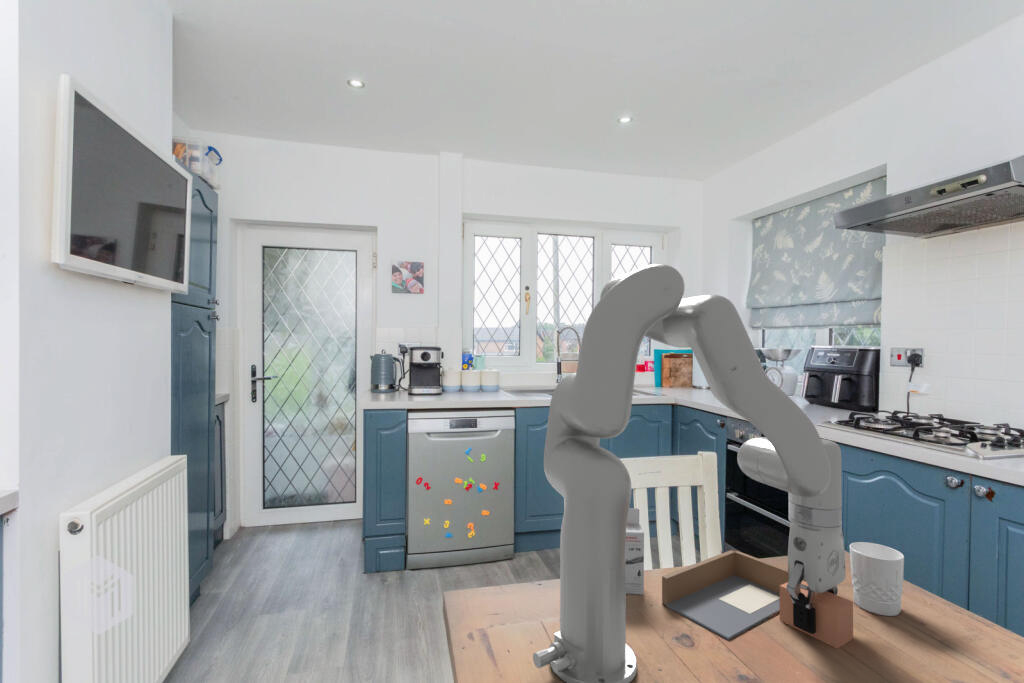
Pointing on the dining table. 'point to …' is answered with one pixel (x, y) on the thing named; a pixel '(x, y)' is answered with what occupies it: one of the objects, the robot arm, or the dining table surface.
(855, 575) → the white cup
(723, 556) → the arena
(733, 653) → the dining table surface
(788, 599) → the rust block
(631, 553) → the ink box
